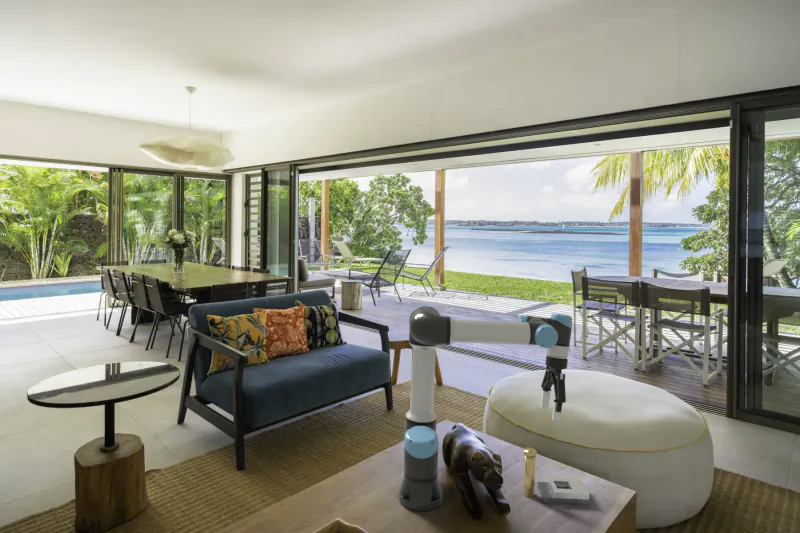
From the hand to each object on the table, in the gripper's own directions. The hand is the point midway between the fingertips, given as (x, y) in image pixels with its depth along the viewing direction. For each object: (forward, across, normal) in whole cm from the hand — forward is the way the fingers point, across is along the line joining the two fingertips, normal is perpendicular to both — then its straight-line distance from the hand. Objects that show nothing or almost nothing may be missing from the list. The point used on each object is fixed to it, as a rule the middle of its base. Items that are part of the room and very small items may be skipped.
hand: (550, 414), depth 168 cm
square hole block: (+26, -6, -6) cm, 27 cm away
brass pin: (+27, -6, +6) cm, 29 cm away
